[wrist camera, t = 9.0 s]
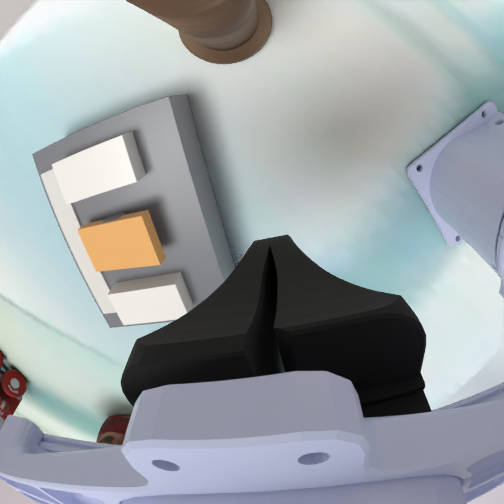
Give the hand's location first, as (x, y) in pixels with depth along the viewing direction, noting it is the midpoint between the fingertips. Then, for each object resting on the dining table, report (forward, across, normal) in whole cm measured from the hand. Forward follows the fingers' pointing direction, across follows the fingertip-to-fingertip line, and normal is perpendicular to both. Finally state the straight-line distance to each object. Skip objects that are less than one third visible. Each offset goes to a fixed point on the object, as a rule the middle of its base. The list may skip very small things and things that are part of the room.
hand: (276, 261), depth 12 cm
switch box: (+11, +9, 0) cm, 14 cm away
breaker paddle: (+6, +9, 0) cm, 11 cm away
